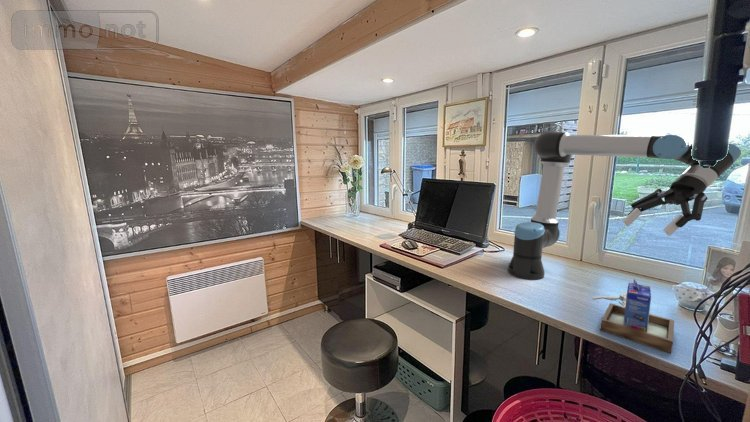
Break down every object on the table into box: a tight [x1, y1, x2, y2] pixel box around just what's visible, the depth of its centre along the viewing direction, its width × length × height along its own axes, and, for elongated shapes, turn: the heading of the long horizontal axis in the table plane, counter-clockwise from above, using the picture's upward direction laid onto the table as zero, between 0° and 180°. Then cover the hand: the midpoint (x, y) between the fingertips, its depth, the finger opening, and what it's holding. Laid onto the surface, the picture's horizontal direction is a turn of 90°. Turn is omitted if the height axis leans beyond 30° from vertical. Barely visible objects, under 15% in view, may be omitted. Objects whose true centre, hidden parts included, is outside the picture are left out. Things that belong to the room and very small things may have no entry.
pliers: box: [592, 291, 627, 307], centre depth 109 cm, size 10×2×15 cm
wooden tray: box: [599, 302, 675, 354], centre depth 90 cm, size 16×16×4 cm
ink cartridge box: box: [624, 278, 652, 332], centre depth 89 cm, size 10×6×14 cm, turn 139°
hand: (644, 227), depth 97 cm, fingers open, 13 cm apart
